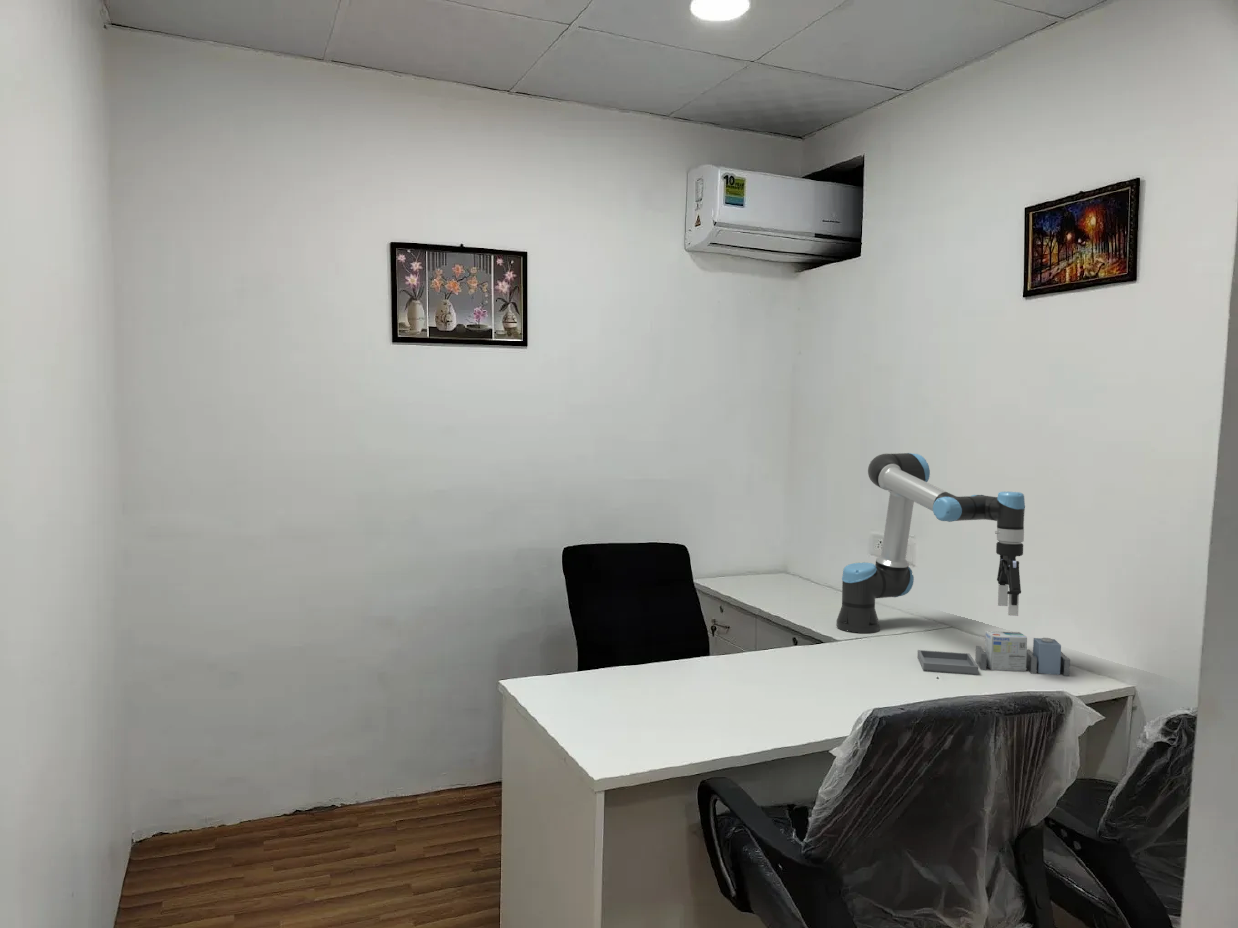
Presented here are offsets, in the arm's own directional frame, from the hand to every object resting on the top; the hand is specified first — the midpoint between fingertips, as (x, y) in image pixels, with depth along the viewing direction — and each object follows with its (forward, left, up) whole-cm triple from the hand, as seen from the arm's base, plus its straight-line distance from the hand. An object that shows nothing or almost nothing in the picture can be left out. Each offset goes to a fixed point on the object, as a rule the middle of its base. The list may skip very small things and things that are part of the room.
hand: (1007, 610), depth 259 cm
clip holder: (0, +4, -18) cm, 19 cm away
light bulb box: (0, 0, -18) cm, 18 cm away
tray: (+3, -18, -18) cm, 25 cm away
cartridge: (0, +12, -18) cm, 21 cm away
